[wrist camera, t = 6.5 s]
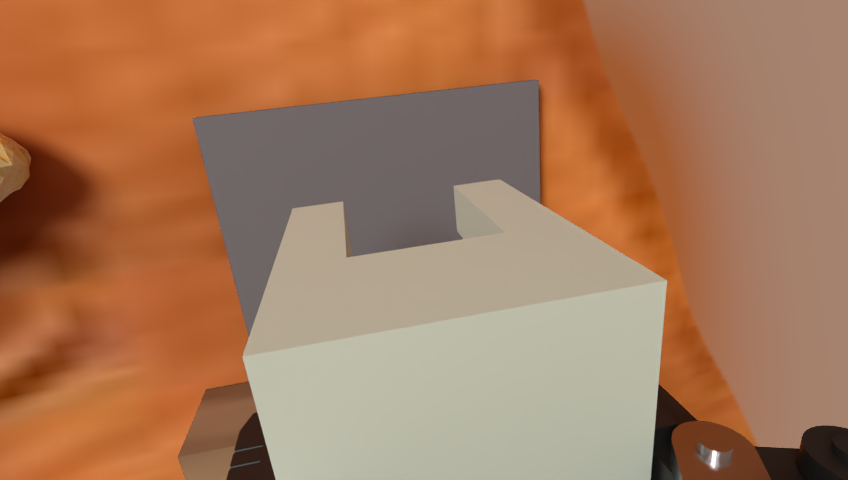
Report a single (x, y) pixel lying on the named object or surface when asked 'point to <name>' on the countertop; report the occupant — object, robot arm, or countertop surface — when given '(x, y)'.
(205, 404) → the tan square slab
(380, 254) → the notched cream block
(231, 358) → the countertop surface
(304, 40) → the countertop surface
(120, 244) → the countertop surface
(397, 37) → the countertop surface
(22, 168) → the croissant
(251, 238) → the felt pad
